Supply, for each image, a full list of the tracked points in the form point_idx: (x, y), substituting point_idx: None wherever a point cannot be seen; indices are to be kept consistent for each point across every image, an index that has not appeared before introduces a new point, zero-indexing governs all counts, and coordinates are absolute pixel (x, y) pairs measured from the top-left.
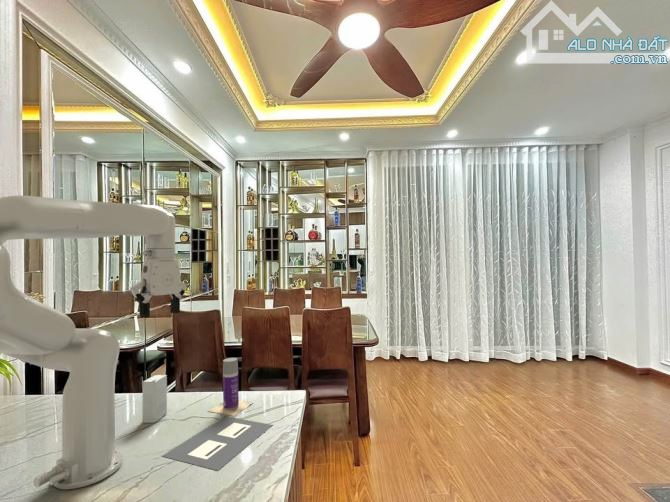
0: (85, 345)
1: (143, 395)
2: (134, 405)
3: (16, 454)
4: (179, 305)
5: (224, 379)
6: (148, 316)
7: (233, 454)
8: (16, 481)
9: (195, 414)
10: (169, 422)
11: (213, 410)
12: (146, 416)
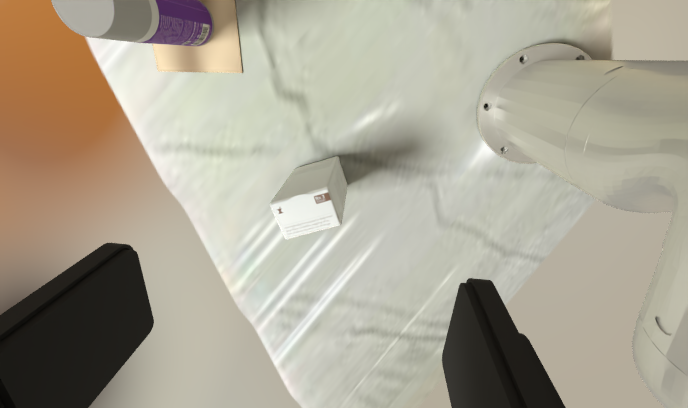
0: None
1: (343, 205)
2: (292, 272)
3: (502, 290)
4: (44, 288)
5: (164, 18)
6: (483, 282)
7: None
8: (575, 205)
9: (268, 93)
10: (324, 124)
11: (232, 59)
12: (343, 180)
